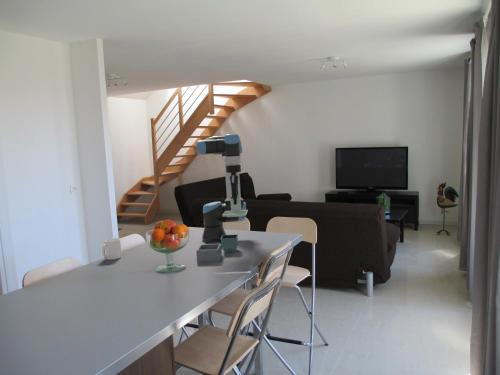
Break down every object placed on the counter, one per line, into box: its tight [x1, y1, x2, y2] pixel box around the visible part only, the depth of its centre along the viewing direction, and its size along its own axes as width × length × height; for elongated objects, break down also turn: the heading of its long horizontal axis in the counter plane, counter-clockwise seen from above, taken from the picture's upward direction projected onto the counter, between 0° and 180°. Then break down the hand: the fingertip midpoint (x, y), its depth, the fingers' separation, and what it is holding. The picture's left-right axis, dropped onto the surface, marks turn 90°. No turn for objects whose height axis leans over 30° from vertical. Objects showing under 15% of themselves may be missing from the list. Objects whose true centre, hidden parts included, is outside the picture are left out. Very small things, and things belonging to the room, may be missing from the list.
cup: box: [101, 237, 123, 261], centre depth 224 cm, size 8×12×10 cm
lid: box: [222, 195, 249, 217], centre depth 206 cm, size 13×12×10 cm
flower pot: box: [220, 233, 239, 253], centre depth 223 cm, size 9×9×9 cm
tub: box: [195, 243, 223, 264], centre depth 209 cm, size 12×11×7 cm
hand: (236, 210), depth 211 cm, fingers closed on lid, 2 cm apart
